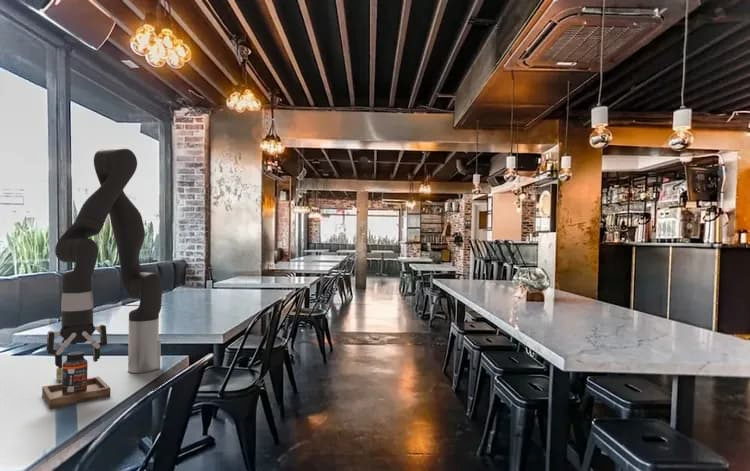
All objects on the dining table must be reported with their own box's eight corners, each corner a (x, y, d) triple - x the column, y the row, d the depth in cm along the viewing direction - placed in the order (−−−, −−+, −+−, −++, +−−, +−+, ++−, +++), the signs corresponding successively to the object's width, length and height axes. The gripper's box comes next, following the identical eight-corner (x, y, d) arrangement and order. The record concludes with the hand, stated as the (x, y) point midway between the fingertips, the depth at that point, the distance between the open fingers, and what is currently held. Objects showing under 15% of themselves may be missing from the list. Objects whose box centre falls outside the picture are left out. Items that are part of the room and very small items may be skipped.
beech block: (75, 375, 147) (75, 362, 147) (75, 378, 143) (75, 365, 143) (57, 377, 144) (57, 365, 144) (56, 380, 141) (56, 368, 141)
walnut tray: (98, 384, 137) (98, 376, 137) (110, 396, 127) (110, 387, 127) (42, 395, 127) (42, 386, 127) (49, 409, 117) (50, 399, 117)
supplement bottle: (74, 397, 123) (75, 356, 123) (56, 395, 124) (57, 355, 124) (92, 390, 129) (92, 350, 129) (74, 388, 130) (75, 349, 130)
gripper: (102, 303, 135) (103, 356, 135) (44, 309, 125) (45, 366, 125) (109, 306, 129) (109, 362, 130) (48, 312, 119) (49, 372, 120)
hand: (77, 364), depth 127 cm, fingers open, 8 cm apart
